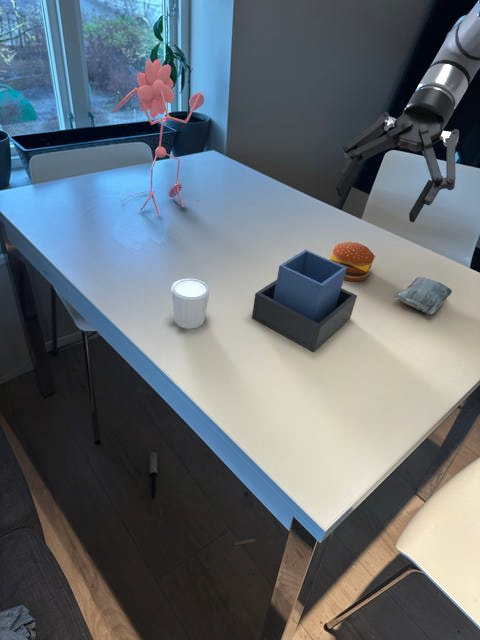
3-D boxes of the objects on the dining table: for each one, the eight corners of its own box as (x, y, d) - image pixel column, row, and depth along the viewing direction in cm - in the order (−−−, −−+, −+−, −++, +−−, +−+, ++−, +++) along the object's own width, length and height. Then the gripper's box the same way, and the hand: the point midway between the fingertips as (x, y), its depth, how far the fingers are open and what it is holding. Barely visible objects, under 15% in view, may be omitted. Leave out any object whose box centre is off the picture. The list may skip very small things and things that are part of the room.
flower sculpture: (206, 200, 129) (214, 62, 108) (137, 226, 112) (131, 68, 90) (168, 184, 135) (168, 51, 114) (98, 206, 118) (83, 54, 97)
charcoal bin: (349, 319, 89) (357, 295, 86) (313, 352, 80) (320, 327, 76) (291, 290, 95) (296, 266, 92) (251, 317, 86) (255, 293, 83)
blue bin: (333, 315, 88) (347, 267, 81) (309, 336, 82) (322, 286, 76) (295, 296, 92) (305, 249, 85) (270, 314, 86) (279, 265, 80)
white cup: (191, 304, 88) (193, 273, 83) (215, 321, 84) (217, 290, 80) (163, 317, 83) (163, 285, 79) (186, 335, 80) (187, 304, 76)
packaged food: (390, 304, 95) (398, 285, 92) (411, 284, 102) (419, 266, 99) (429, 324, 91) (439, 304, 88) (448, 301, 99) (457, 282, 96)
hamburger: (371, 268, 107) (380, 243, 103) (363, 287, 100) (371, 261, 96) (334, 256, 109) (340, 232, 105) (323, 274, 102) (329, 248, 98)
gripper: (505, 133, 75) (444, 240, 74) (371, 101, 87) (316, 193, 86) (513, 102, 69) (446, 219, 68) (366, 71, 80) (307, 171, 79)
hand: (373, 205), depth 77 cm, fingers open, 13 cm apart
